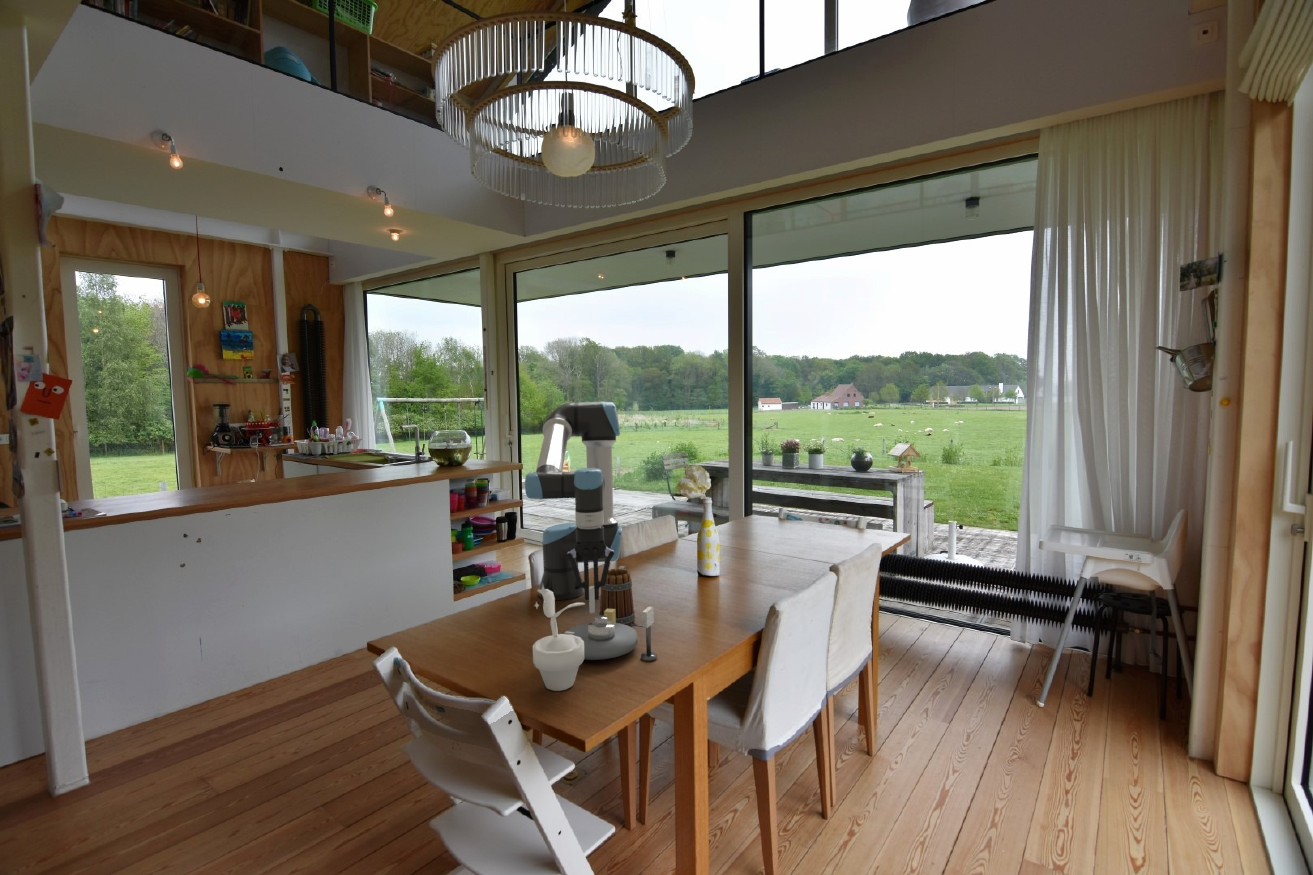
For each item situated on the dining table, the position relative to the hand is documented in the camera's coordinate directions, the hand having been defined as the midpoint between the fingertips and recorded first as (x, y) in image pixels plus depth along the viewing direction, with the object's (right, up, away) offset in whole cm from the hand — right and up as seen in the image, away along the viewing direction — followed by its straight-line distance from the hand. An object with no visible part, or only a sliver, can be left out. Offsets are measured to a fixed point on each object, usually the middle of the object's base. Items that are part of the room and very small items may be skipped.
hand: (592, 611), depth 166 cm
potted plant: (-4, -10, -27) cm, 29 cm away
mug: (+6, -7, +15) cm, 18 cm away
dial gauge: (+14, -8, -12) cm, 21 cm away
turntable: (+2, -6, -7) cm, 10 cm away
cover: (+3, -4, -7) cm, 9 cm away
